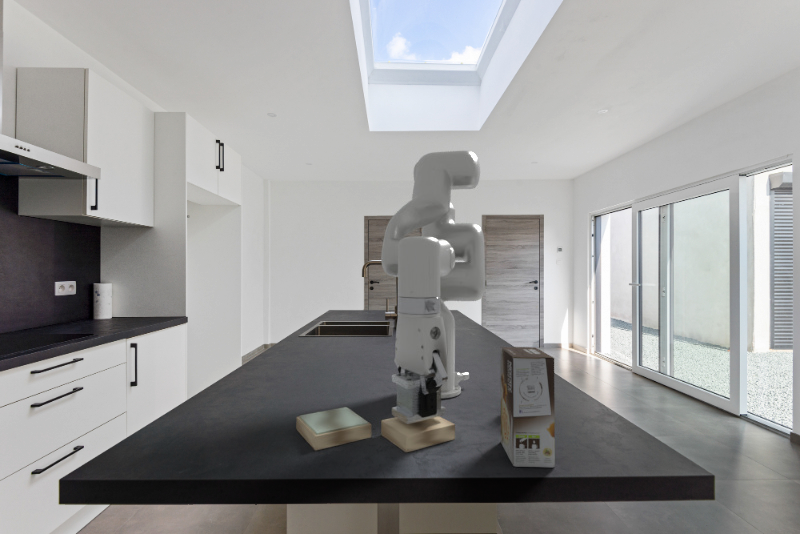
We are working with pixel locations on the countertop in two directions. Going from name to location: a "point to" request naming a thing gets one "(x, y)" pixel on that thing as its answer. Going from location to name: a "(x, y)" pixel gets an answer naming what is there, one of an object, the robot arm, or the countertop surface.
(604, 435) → the countertop surface
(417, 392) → the housing
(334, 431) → the stand
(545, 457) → the coffee box
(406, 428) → the beige piece
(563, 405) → the countertop surface
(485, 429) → the countertop surface
